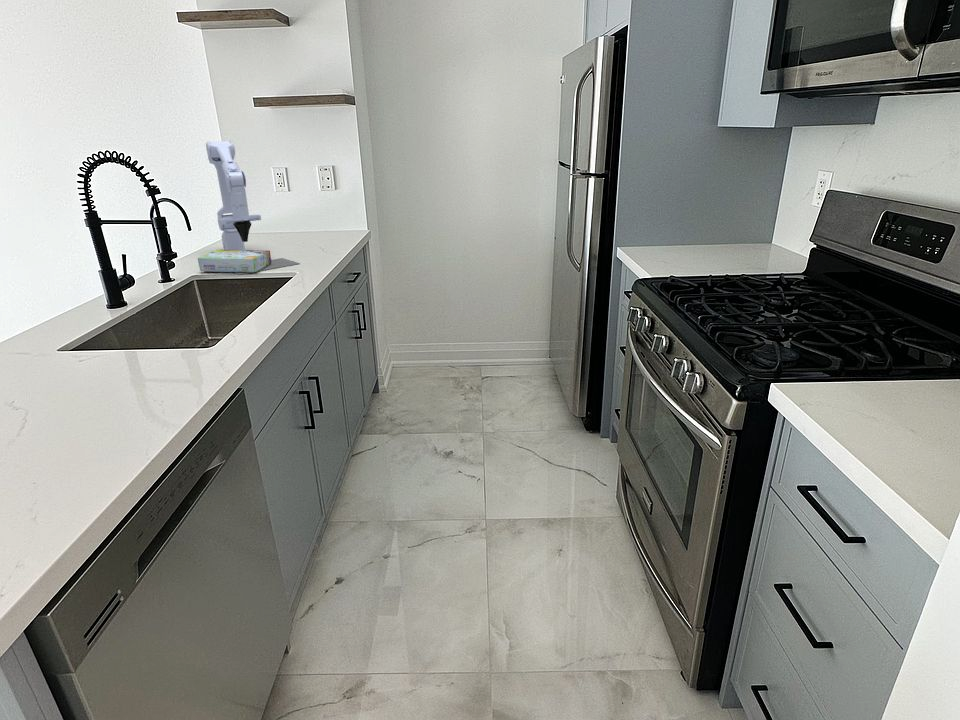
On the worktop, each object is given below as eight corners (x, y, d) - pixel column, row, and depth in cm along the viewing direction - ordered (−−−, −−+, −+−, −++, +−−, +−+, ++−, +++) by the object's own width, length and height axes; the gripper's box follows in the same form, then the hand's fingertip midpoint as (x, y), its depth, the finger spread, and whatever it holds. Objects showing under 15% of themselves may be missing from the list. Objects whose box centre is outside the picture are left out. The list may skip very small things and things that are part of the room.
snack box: (270, 248, 236) (253, 258, 222) (272, 263, 238) (255, 273, 224) (216, 248, 237) (196, 257, 224) (218, 262, 240) (199, 273, 226)
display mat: (223, 268, 232) (222, 268, 232) (282, 258, 248) (282, 257, 247) (239, 275, 223) (239, 274, 223) (300, 264, 238) (299, 263, 238)
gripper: (225, 208, 225) (231, 245, 230) (262, 204, 235) (267, 240, 240) (216, 206, 230) (223, 243, 235) (254, 202, 239) (259, 237, 244)
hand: (244, 241), depth 238 cm, fingers closed
